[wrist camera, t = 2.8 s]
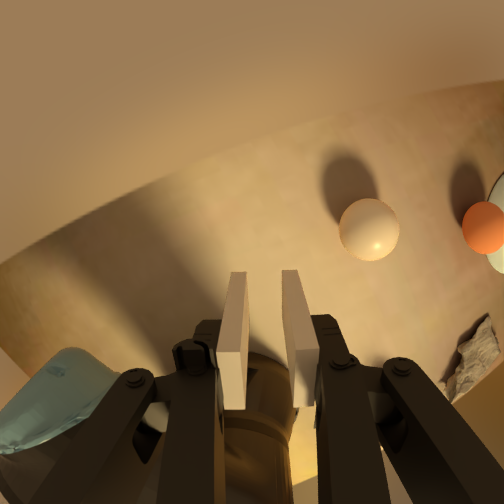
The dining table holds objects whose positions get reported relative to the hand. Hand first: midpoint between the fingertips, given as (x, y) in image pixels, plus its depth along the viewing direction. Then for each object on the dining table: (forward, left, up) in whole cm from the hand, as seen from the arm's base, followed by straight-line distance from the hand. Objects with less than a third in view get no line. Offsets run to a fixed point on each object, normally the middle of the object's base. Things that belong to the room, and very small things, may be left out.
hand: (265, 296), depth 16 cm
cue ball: (+7, -6, -12) cm, 15 cm away
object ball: (+18, -15, -12) cm, 26 cm away
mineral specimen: (+10, -33, -15) cm, 38 cm away
